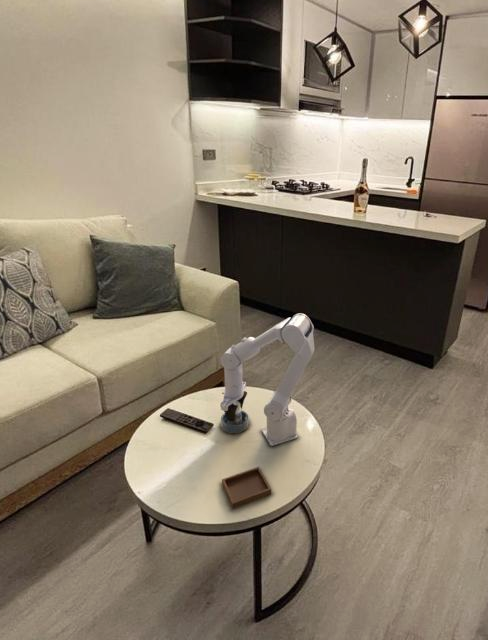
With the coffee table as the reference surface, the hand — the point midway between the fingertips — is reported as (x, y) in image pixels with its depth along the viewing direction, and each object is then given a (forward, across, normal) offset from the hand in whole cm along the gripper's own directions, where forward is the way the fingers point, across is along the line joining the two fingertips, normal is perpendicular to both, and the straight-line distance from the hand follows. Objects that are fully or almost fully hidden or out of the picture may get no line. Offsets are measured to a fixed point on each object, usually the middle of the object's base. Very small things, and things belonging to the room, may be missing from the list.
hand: (234, 415), depth 138 cm
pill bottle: (+4, 0, 0) cm, 4 cm away
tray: (+4, +24, +15) cm, 28 cm away
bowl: (+4, 0, 0) cm, 4 cm away
